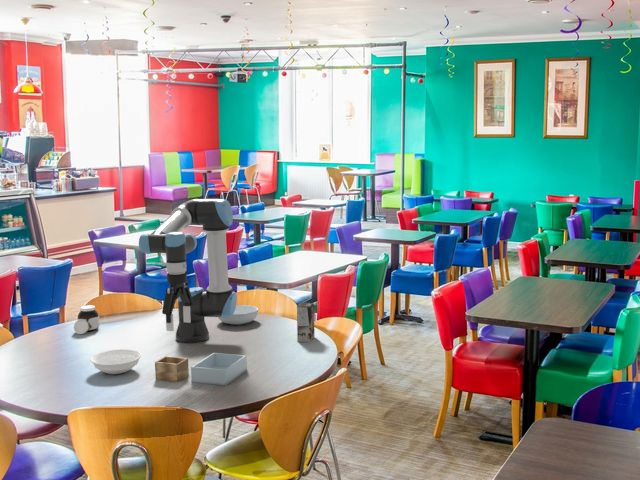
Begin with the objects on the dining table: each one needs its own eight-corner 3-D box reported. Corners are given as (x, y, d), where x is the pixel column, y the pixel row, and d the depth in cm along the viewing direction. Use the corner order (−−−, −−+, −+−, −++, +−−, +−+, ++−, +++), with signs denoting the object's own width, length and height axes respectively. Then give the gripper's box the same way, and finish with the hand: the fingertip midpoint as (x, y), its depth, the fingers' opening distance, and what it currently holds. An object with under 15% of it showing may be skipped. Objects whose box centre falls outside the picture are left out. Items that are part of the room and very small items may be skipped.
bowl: (115, 383, 291) (114, 367, 290) (80, 375, 302) (79, 359, 301) (152, 369, 308) (152, 353, 307) (118, 361, 318) (117, 346, 317)
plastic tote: (191, 382, 291) (190, 367, 290) (214, 366, 309) (213, 352, 308) (225, 385, 287) (225, 370, 286) (246, 370, 305) (246, 355, 304)
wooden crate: (155, 379, 295) (154, 362, 294) (166, 373, 302) (165, 356, 301) (178, 382, 291) (177, 364, 290) (188, 375, 299) (188, 358, 298)
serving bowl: (267, 320, 382) (266, 307, 381) (241, 330, 365) (240, 316, 364) (234, 315, 393) (234, 302, 392) (207, 324, 376) (207, 311, 375)
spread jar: (99, 327, 373) (98, 304, 372) (100, 333, 363) (99, 309, 361) (73, 329, 370) (72, 306, 368) (74, 335, 359) (72, 311, 357)
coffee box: (310, 342, 342) (310, 307, 340) (297, 341, 344) (296, 306, 341) (315, 336, 351) (314, 302, 349) (301, 336, 352) (300, 302, 350)
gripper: (169, 279, 281) (171, 335, 284) (200, 267, 304) (202, 319, 307) (151, 278, 283) (153, 333, 286) (183, 266, 306) (185, 318, 309)
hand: (178, 326), depth 296 cm, fingers open, 13 cm apart
